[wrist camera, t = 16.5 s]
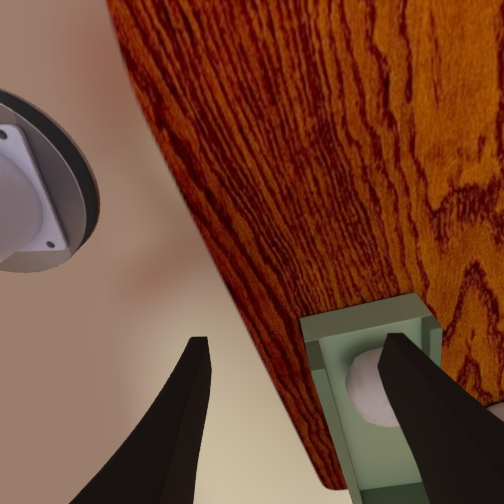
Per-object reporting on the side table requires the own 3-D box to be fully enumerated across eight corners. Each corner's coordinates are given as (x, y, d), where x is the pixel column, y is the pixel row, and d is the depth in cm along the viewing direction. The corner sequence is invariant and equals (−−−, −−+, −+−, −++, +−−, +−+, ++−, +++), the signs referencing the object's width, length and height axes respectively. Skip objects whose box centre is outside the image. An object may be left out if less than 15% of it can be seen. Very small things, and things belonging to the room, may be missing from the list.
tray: (299, 317, 24) (310, 371, 19) (415, 291, 22) (454, 343, 18) (346, 470, 38) (358, 521, 33) (419, 460, 36) (441, 512, 32)
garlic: (349, 328, 21) (376, 398, 16) (422, 334, 21) (468, 404, 17) (329, 381, 24) (347, 451, 19) (393, 385, 24) (425, 455, 20)
